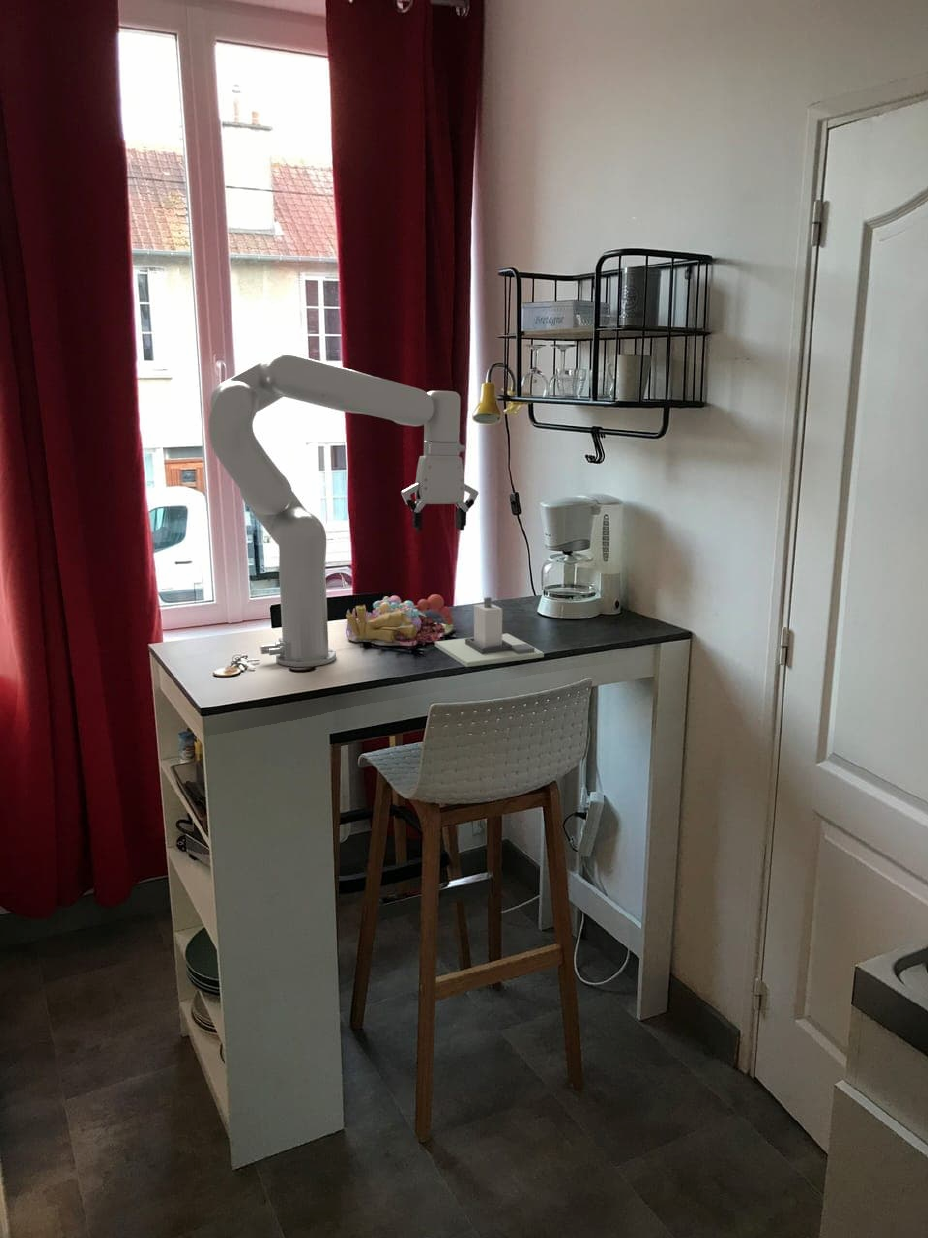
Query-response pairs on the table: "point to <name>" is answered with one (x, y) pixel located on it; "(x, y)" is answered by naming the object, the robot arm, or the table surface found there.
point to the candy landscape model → (398, 622)
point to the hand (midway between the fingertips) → (439, 530)
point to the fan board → (488, 651)
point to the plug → (487, 624)
